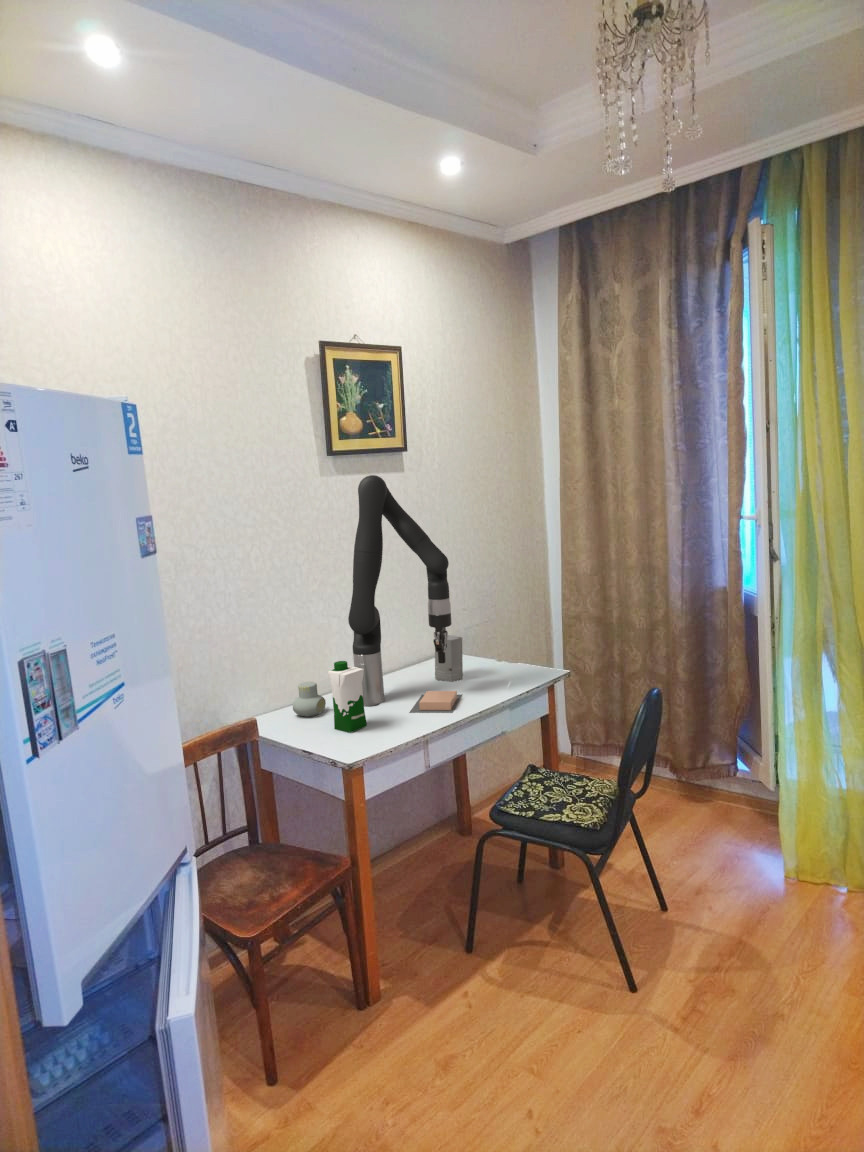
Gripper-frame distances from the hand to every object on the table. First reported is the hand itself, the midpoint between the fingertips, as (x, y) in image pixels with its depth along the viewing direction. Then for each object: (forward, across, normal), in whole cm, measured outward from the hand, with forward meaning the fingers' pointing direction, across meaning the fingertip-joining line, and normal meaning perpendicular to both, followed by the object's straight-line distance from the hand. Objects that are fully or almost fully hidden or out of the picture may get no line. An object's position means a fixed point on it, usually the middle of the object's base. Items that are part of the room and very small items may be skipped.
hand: (442, 662), depth 253 cm
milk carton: (+12, +31, -23) cm, 40 cm away
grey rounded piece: (+13, +18, -41) cm, 46 cm away
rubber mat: (+12, +8, -1) cm, 14 cm away
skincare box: (+12, -21, -2) cm, 24 cm away
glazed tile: (+10, +4, 0) cm, 11 cm away
